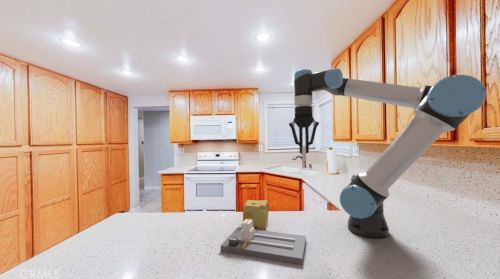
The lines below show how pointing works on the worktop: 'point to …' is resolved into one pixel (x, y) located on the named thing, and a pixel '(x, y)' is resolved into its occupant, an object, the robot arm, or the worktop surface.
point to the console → (267, 246)
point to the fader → (247, 230)
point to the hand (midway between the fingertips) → (304, 160)
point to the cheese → (256, 212)
